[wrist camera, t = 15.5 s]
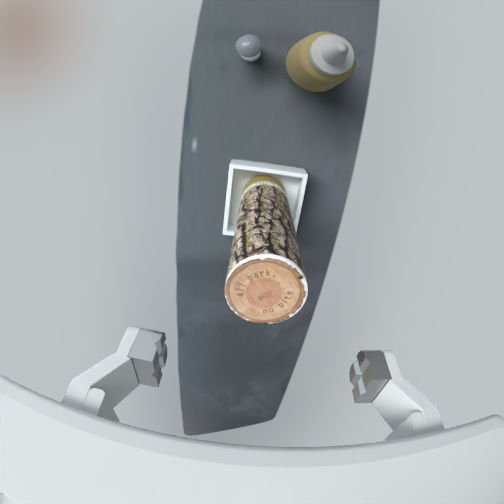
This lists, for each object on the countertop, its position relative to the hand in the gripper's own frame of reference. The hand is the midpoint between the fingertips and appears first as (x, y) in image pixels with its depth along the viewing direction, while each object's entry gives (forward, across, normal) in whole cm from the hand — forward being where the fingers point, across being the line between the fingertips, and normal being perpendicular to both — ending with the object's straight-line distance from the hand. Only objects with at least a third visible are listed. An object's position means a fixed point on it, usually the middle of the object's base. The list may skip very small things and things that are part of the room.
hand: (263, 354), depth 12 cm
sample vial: (+38, +4, -16) cm, 41 cm away
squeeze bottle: (+38, -5, -14) cm, 41 cm away
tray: (+37, -1, +7) cm, 37 cm away
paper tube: (+36, -1, +6) cm, 37 cm away
